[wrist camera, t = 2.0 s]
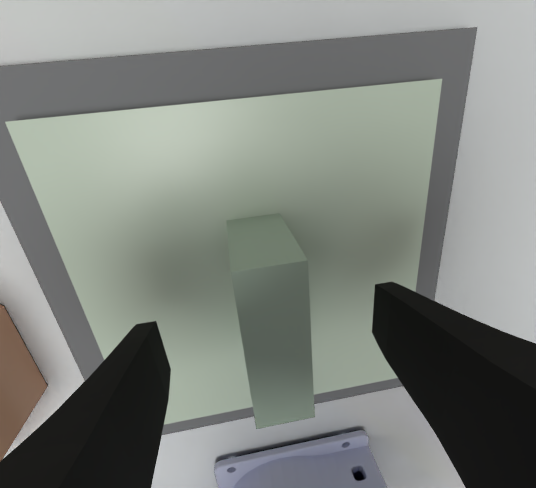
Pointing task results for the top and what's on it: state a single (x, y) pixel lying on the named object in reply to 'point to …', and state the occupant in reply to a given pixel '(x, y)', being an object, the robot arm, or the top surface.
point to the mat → (216, 89)
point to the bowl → (15, 382)
